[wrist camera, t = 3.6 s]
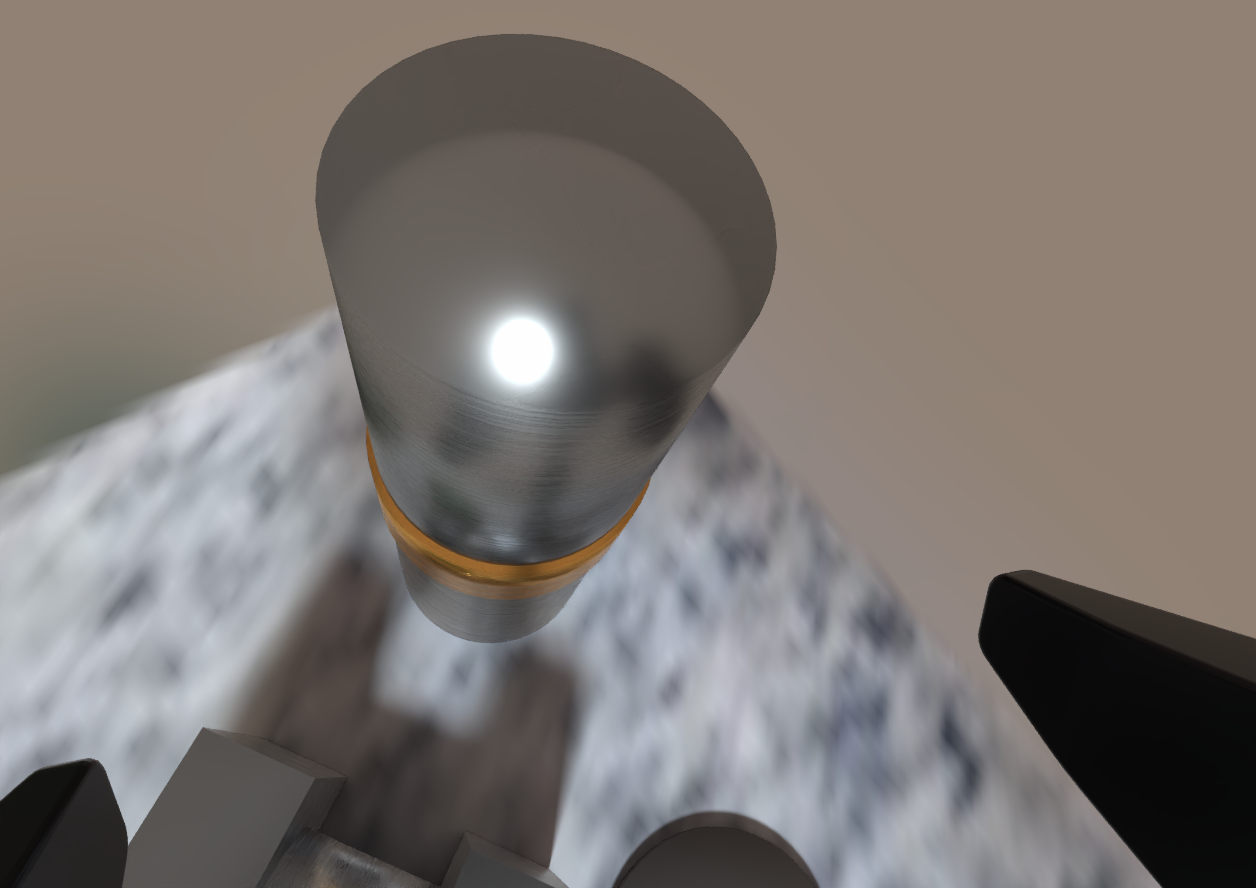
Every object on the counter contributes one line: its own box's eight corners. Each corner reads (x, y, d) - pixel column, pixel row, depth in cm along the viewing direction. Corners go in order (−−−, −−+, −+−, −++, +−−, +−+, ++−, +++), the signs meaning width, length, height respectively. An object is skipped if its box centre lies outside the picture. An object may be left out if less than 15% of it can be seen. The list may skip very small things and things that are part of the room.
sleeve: (559, 668, 18) (752, 481, 7) (369, 619, 18) (211, 325, 6) (603, 493, 20) (809, 111, 9) (432, 445, 20) (404, -28, 8)
